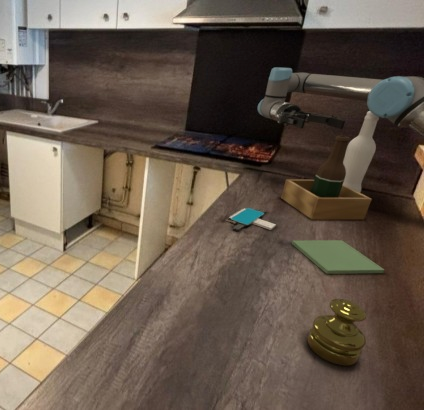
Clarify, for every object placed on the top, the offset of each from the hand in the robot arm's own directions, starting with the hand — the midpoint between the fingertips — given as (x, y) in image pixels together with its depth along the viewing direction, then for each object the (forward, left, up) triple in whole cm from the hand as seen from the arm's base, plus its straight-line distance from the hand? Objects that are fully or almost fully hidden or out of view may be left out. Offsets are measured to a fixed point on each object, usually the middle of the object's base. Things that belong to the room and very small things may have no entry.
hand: (323, 124), depth 117 cm
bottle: (+1, -17, -26) cm, 31 cm away
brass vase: (-69, +39, -26) cm, 83 cm away
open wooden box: (-10, 0, -26) cm, 27 cm away
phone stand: (-20, +28, -26) cm, 43 cm away
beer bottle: (-10, 0, -26) cm, 28 cm away
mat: (-40, +17, -26) cm, 50 cm away
